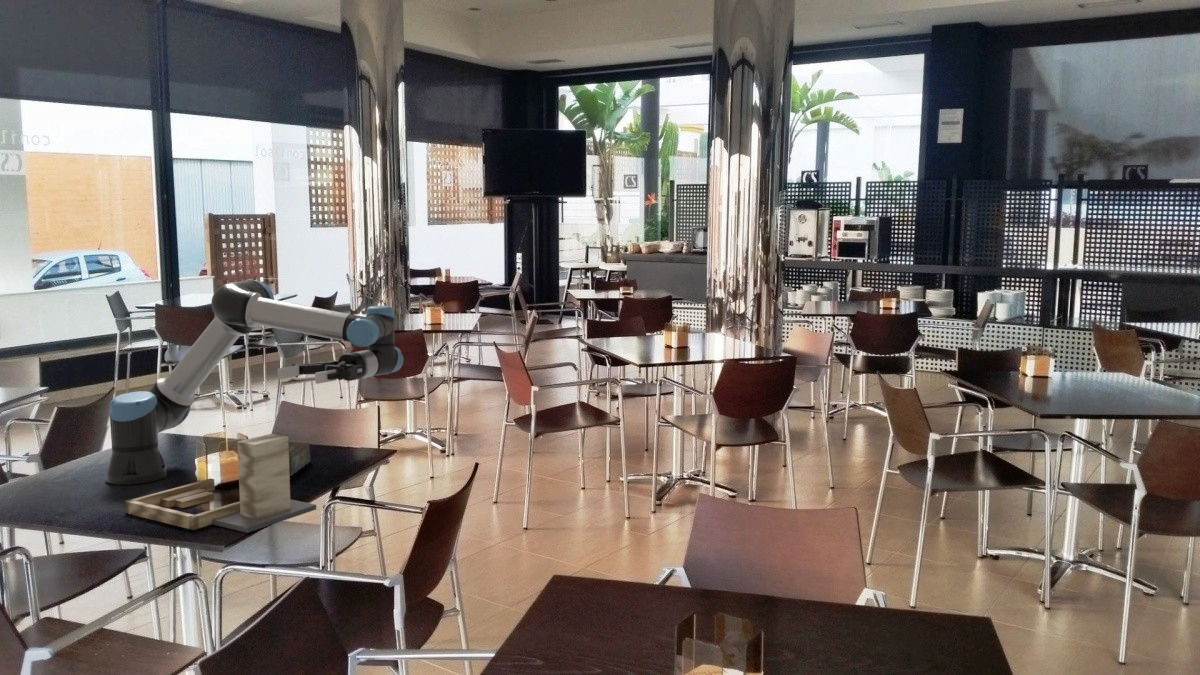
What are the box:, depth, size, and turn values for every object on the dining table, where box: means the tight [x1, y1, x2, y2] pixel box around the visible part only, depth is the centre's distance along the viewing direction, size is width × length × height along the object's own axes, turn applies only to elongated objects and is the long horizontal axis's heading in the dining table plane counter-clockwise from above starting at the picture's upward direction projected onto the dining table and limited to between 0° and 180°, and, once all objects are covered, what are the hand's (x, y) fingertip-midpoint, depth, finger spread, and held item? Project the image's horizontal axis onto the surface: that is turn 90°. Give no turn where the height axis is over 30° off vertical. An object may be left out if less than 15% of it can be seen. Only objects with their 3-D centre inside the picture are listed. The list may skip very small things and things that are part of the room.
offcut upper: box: [174, 491, 215, 509], centre depth 241 cm, size 3×9×2 cm, turn 147°
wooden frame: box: [124, 478, 240, 531], centre depth 236 cm, size 26×24×3 cm
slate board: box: [212, 498, 317, 534], centre depth 229 cm, size 12×21×1 cm, turn 150°
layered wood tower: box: [237, 433, 291, 519], centre depth 228 cm, size 6×10×18 cm, turn 150°
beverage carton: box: [288, 442, 311, 477], centre depth 272 cm, size 8×19×7 cm, turn 178°
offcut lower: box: [159, 489, 207, 509], centre depth 242 cm, size 4×11×2 cm, turn 148°
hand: (297, 376), depth 242 cm, fingers open, 13 cm apart
